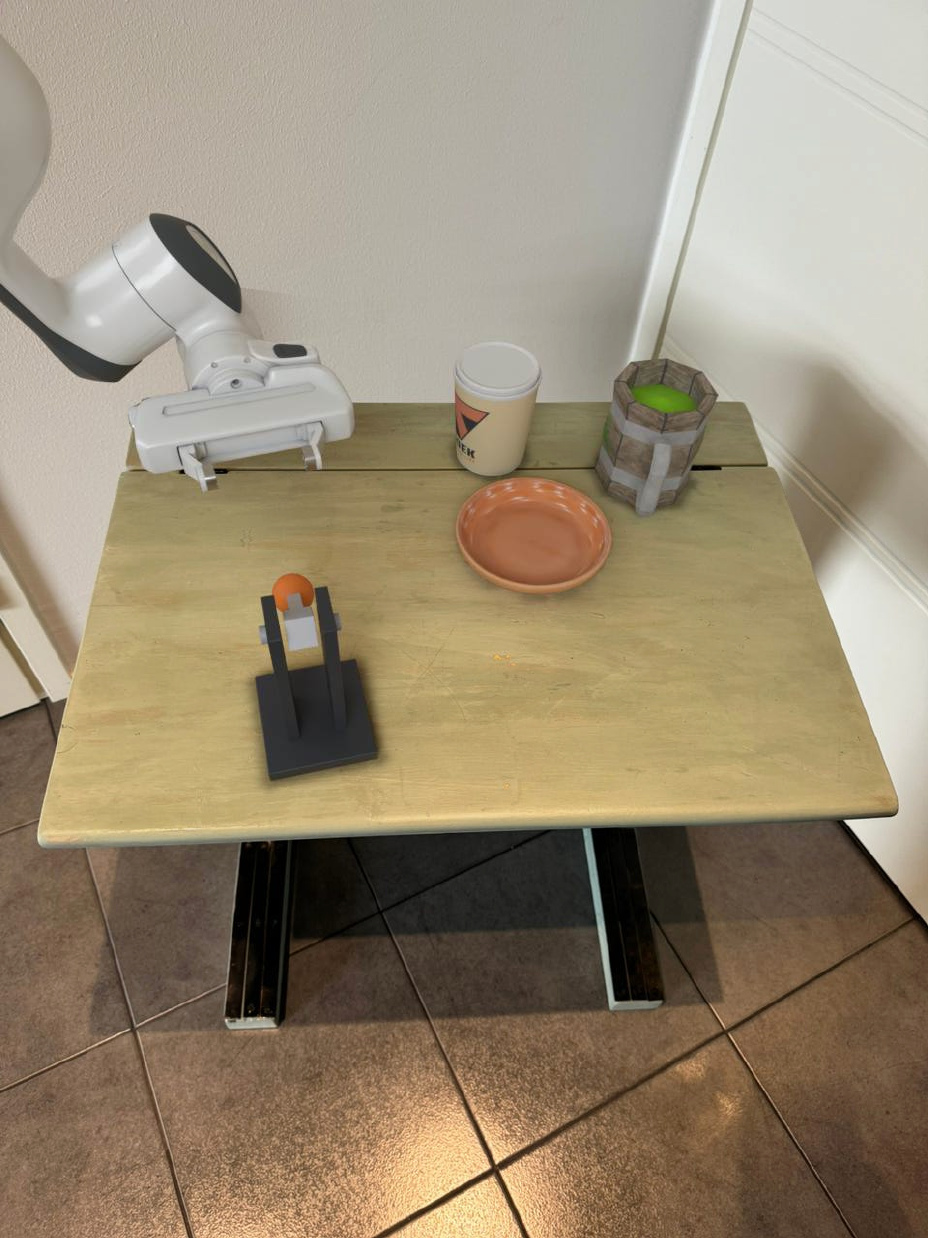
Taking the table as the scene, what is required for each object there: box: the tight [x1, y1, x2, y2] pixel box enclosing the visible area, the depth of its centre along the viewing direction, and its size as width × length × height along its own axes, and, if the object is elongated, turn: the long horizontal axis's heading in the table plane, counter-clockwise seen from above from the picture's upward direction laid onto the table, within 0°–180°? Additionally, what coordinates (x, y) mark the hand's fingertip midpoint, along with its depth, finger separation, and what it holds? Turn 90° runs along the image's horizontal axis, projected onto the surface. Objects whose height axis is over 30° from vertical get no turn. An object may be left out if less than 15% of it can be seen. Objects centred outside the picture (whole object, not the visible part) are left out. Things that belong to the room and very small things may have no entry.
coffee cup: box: [452, 340, 543, 477], centre depth 92 cm, size 9×9×12 cm
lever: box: [271, 572, 320, 652], centre depth 67 cm, size 13×4×4 cm
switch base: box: [254, 585, 378, 782], centre depth 67 cm, size 10×9×15 cm
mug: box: [593, 357, 719, 518], centre depth 89 cm, size 16×11×12 cm
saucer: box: [455, 476, 613, 595], centre depth 86 cm, size 16×16×3 cm
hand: (262, 475), depth 75 cm, fingers open, 8 cm apart
